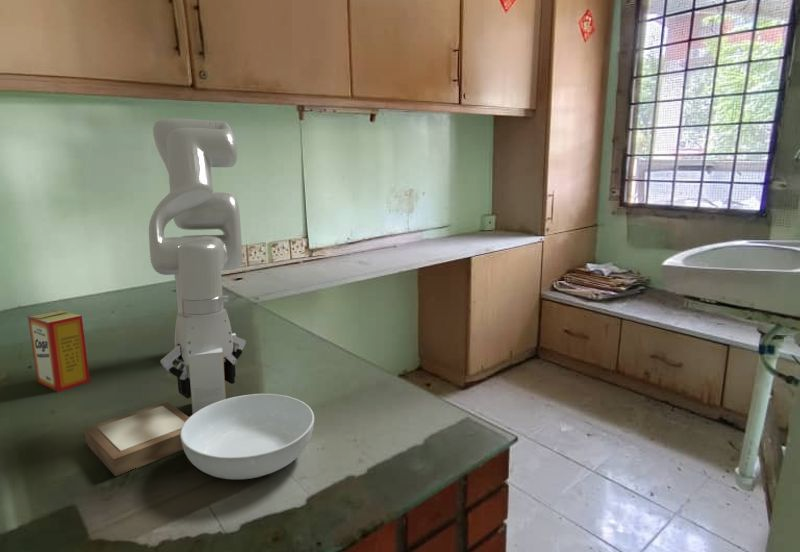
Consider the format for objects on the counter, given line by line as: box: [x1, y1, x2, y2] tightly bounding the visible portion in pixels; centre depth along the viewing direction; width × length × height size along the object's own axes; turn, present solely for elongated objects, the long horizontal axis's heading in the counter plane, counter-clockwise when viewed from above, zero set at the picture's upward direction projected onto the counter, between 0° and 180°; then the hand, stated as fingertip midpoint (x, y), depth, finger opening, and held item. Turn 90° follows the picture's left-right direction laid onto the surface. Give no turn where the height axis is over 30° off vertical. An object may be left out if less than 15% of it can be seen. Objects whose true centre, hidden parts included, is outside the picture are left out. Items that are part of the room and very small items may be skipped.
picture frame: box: [84, 401, 190, 477], centre depth 84 cm, size 14×14×3 cm
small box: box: [188, 348, 227, 416], centre depth 96 cm, size 8×6×13 cm
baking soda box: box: [27, 309, 91, 393], centre depth 107 cm, size 10×6×16 cm
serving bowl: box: [180, 393, 315, 480], centre depth 79 cm, size 21×21×7 cm
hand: (208, 388), depth 96 cm, fingers closed on small box, 8 cm apart
